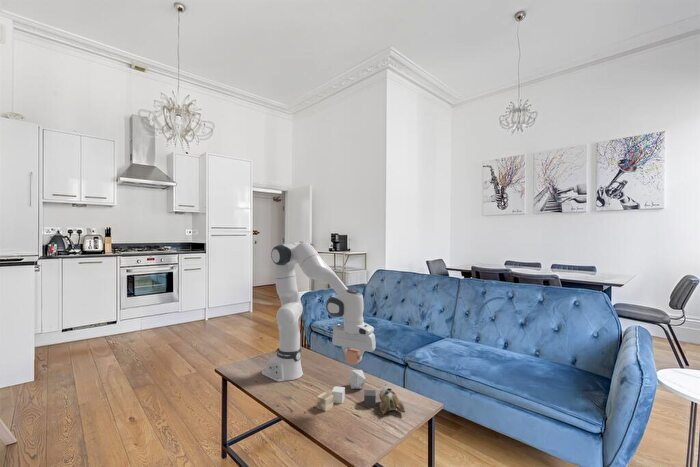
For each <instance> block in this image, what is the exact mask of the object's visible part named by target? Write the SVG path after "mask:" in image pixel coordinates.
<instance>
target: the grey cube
mask: <svg viewBox="0 0 700 467" xmlns="http://www.w3.org/2000/svg"><path fill="white" fill-rule="evenodd" d="M331 395H333V404H335V403H336V404H343V403H344V401H345V399H346V387H344V386H336V385H335V386H334V387H333V388H332V390H331Z"/></svg>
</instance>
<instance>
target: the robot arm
mask: <svg viewBox="0 0 700 467" xmlns="http://www.w3.org/2000/svg"><path fill="white" fill-rule="evenodd" d="M270 255H271V256H270V257H271V260H272V262H273V264H274V269H273V270H274V280H275V289H276V294H277V296H278V297H279V301H280V304H281V306H280V307H279V308H278V310H277V312H276V316H275V319H276V323H277V329H278V334H279V338H278V339H279V345H278V346H279V347H278V348H276V350H275V353H276V354H275V355H274V356H273V357H272V358H270V359H269V360H268V361H267V363H266V367H265V368H264V369H263V370H262V371H261V374H262V375H263V376H265V377H267V378H268V379H271V380H274V381H276V382H278V383H279V382H285V381H293V380H297V379H300V378H301V377H302V376H303V374H304V372H303V368H302V363H301V358H302V348H301V332H300V324H299V320H300V319H299V318H300V317H301V316H302V314H303V310H304V306H303V303H302V300H301V297H300V293H299V289H298V282H297V275H296V268H295V267H296V264H298V265H299V267H300V269H301V271H302V272H303V274H304V275H306V277H307V278H308V279H311V280H316V281H320V282H324V283H326V284H328V285H329V286H330V288H332V290H333V291H334V292H335V293H336V295H331V296H330V297H328V299H327V301H326V303H325V309H326V312H327V314H328V315H329V316H331V317H333V318H340V317H341V318H343V324H339V323H336V324H334V325H333V327H332V331H333V333H332V340H331V341H332V344H333V345H334V346H339V347H342V351H343V353H344V357H345V358H346V351H347V350H348V349H350V348H352V349H358V350H360V352H361V353H360V354H359V355H358V356H357V357H358V358H357V359H359V360H361V361H362V359H363V355H364V353H365V352H369V353H372V352H374V351H375V350H376V348H377V346H376V345H377V342H376V335H375V334H374V330H375V328H374V327H373V326H372V325H370V324H368V323H367V322H364V316H363V315H364V310H365V304H364V296H363V293H362V292H361V291H360V290H357V289H356V288H355V289H353V288H349V287H348V285H346V283H345V281H344V280H343V279H342V278H341V277H340V276H339V274H338V273H337V272H336V271H335V270H334V269H333V268H331V267H330V266H329V265H328V264H327V263H326V262H325V261H324V259H323V258H322V257H321V255H320V254H319V252H318V251H317V250H316V248H315V247H313V245H311V244H310V242H307V241H293V242H288V243H283V244H278V245H276V246H274V247H272V249H271V253H270Z"/></svg>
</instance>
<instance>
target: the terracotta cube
mask: <svg viewBox="0 0 700 467" xmlns="http://www.w3.org/2000/svg"><path fill="white" fill-rule="evenodd" d="M360 353H361V352H360V350H358V349H352V348H347V351H346V357H345V363H347V364H351V365H354V366H355V365H358V364H359V363H360V362H361V361H362V359H361V360H359V359H357V358H358V357H357V356H358V355H359V354H360Z"/></svg>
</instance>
